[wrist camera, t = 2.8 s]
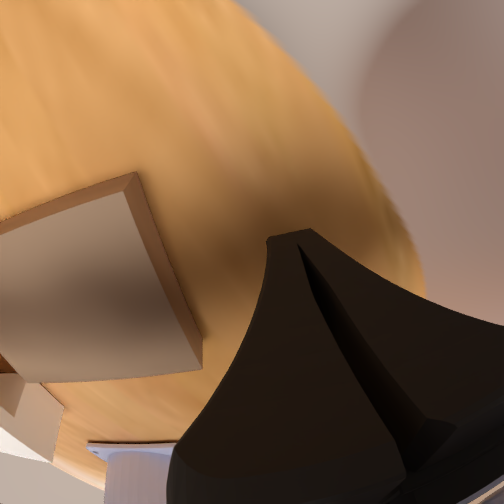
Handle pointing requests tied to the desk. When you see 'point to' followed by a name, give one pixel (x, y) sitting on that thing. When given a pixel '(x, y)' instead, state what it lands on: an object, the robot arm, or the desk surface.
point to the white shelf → (28, 418)
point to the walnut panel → (92, 291)
